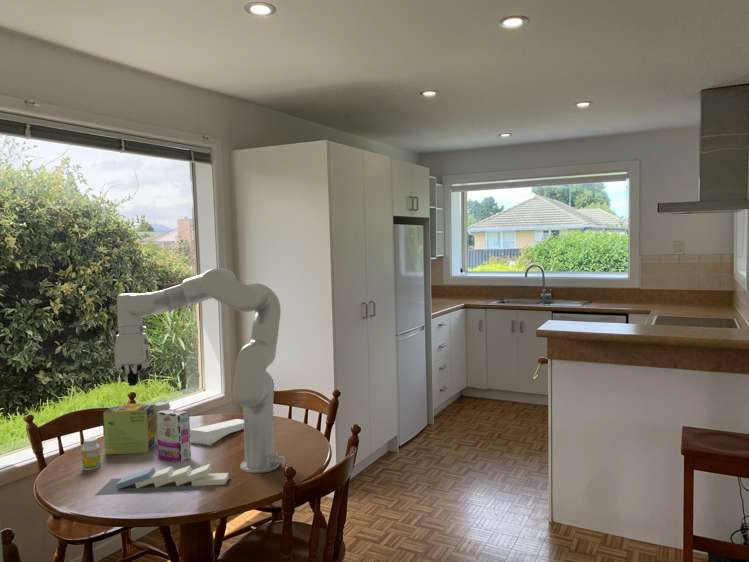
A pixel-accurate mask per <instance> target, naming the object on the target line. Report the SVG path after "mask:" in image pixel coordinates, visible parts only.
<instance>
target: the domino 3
mask: <svg viewBox="0 0 749 562" xmlns="http://www.w3.org/2000/svg"><path fill="white" fill-rule="evenodd" d="M212 470H213V466H212V463H208V464H205V465H203V466H200V467H197V468H194V469H192V471H191V472H190V474H189V475H188V477H185V478H182V479H179V480H176V481H175V482H176V485H177V486H178V485H181V484H184V483H187V482H189V481H192V480H195V479H197V478H200V477H203V476H206V475H208V474H211V471H212Z"/></svg>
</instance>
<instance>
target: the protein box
mask: <svg viewBox="0 0 749 562" xmlns="http://www.w3.org/2000/svg"><path fill="white" fill-rule="evenodd" d="M102 414H103V433H104V435H103V437H104V454H105V455H122V454H123V455H124V454H145V453H149V452H150V451H151V450H152V449H153V448H154V447H155V446H156V445H158V440H157V428H156V407H155V403H151V402H145V403H142V402H141V403H123V404H120V403H119V404H114V405H112V406H110V407H109V408H108V409H106V410H104V411H103V413H102ZM143 452H144V453H143Z"/></svg>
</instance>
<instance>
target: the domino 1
mask: <svg viewBox="0 0 749 562" xmlns="http://www.w3.org/2000/svg"><path fill="white" fill-rule="evenodd" d="M173 471H175V470H174V468H173V466H169V467H165V468H162V469H160V470H157V471H156V472H155V473H154V474H153V475H152V477H151V478H149V479H147V480H144V481H141V482H138V483H135V485H136V488H139V487H142V486H145V485H148V484H151V483H154V482H157V481H160V480H163V479H166V478H169V476H170V475H171V474H172V473H173Z"/></svg>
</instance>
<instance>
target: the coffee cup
mask: <svg viewBox="0 0 749 562" xmlns="http://www.w3.org/2000/svg"><path fill="white" fill-rule="evenodd" d="M150 403H155V407H156V412H159V411H162V410H165V409H171V405H170V403H169V401H167V400H158V401H152V402H150ZM156 428H157V416H156Z"/></svg>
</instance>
